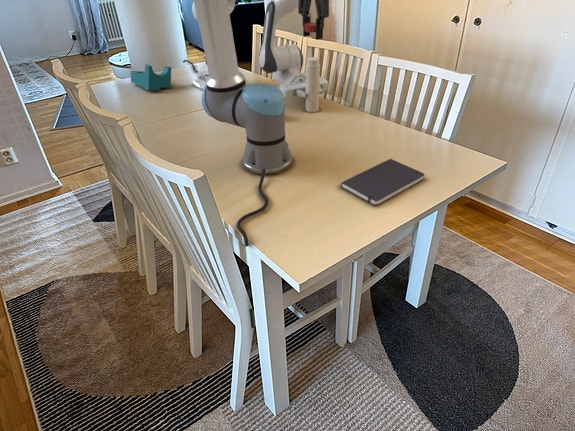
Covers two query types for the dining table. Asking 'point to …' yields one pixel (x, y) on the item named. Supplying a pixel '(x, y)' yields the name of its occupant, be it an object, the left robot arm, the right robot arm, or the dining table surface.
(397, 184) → the notebook
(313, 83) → the jar
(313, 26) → the lid
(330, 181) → the dining table surface
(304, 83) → the left robot arm
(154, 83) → the teal notched cradle block
